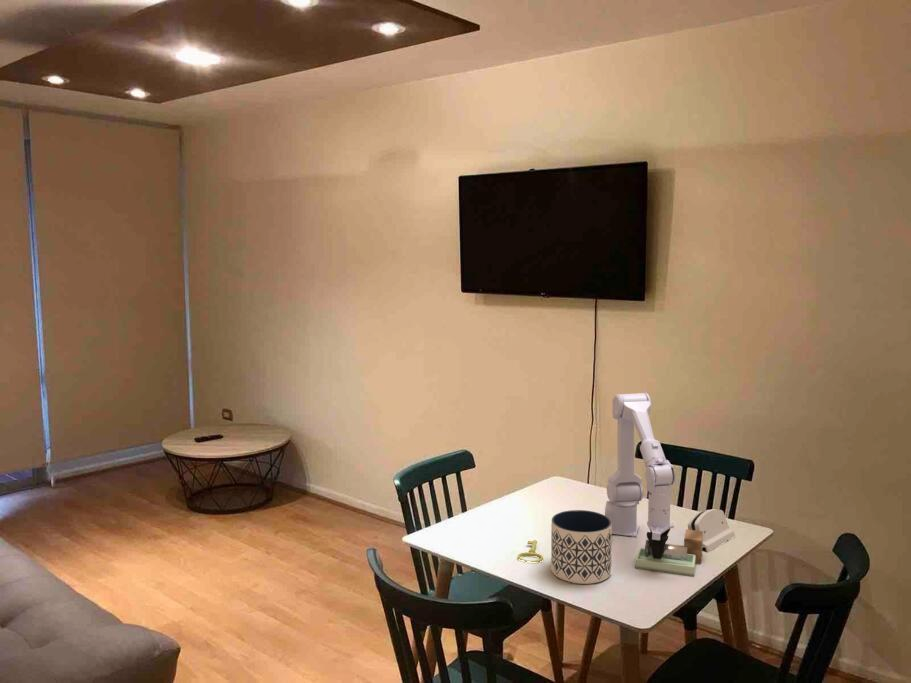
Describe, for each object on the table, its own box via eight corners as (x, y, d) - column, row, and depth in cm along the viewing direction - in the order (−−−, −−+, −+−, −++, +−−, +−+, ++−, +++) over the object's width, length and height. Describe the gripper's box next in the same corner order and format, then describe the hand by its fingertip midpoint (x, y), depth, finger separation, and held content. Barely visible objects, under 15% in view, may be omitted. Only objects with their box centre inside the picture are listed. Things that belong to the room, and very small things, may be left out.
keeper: (659, 558, 203) (660, 535, 202) (661, 548, 210) (662, 526, 209) (700, 563, 199) (701, 540, 198) (702, 553, 206) (702, 531, 205)
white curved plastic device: (707, 553, 206) (697, 518, 207) (693, 553, 210) (683, 519, 211) (736, 536, 217) (726, 503, 218) (721, 537, 221) (712, 504, 222)
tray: (635, 568, 197) (635, 559, 197) (638, 555, 205) (638, 547, 204) (693, 576, 192) (694, 567, 191) (695, 563, 199) (695, 554, 199)
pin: (644, 559, 198) (645, 543, 197) (646, 553, 202) (647, 537, 201) (686, 565, 194) (686, 549, 193) (687, 559, 198) (687, 542, 198)
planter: (622, 580, 190) (623, 527, 188) (566, 589, 186) (566, 535, 184) (593, 555, 205) (594, 507, 203) (541, 563, 201) (542, 513, 199)
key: (536, 546, 213) (536, 539, 213) (544, 564, 201) (544, 557, 201) (512, 547, 213) (512, 540, 213) (519, 565, 201) (519, 558, 201)
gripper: (672, 518, 189) (671, 568, 190) (676, 500, 202) (675, 546, 204) (644, 515, 191) (643, 564, 193) (650, 497, 205) (649, 543, 206)
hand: (658, 555), depth 199 cm, fingers closed on pin, 3 cm apart
